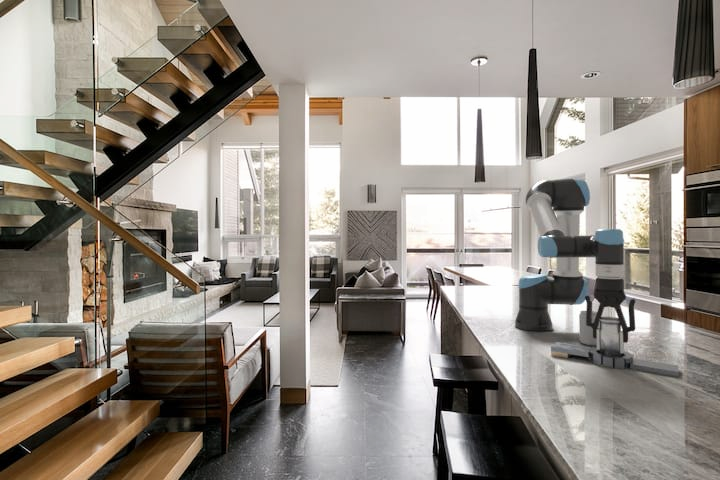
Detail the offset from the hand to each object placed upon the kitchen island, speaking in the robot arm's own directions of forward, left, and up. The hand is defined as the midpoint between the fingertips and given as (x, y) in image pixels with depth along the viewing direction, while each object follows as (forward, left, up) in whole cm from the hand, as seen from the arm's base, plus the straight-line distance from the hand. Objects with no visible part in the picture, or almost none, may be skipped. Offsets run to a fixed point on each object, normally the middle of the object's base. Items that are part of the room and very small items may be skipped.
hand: (610, 350), depth 121 cm
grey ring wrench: (0, 0, -4) cm, 4 cm away
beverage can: (-9, +20, -4) cm, 22 cm away
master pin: (0, 0, -2) cm, 2 cm away
